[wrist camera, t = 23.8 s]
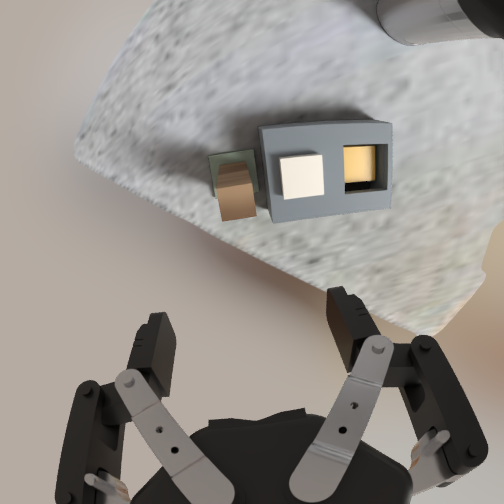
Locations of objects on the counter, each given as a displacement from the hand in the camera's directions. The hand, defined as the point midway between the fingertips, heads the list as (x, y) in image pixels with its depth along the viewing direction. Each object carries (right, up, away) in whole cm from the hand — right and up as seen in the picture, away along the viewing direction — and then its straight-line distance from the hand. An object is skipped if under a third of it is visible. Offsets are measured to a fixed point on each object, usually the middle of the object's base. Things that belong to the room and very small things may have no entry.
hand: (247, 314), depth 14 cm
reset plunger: (+15, +16, +24) cm, 32 cm away
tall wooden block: (-2, +13, +24) cm, 28 cm away
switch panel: (+10, +16, +25) cm, 31 cm away
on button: (+6, +14, +22) cm, 27 cm away
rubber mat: (-2, +14, +24) cm, 28 cm away
